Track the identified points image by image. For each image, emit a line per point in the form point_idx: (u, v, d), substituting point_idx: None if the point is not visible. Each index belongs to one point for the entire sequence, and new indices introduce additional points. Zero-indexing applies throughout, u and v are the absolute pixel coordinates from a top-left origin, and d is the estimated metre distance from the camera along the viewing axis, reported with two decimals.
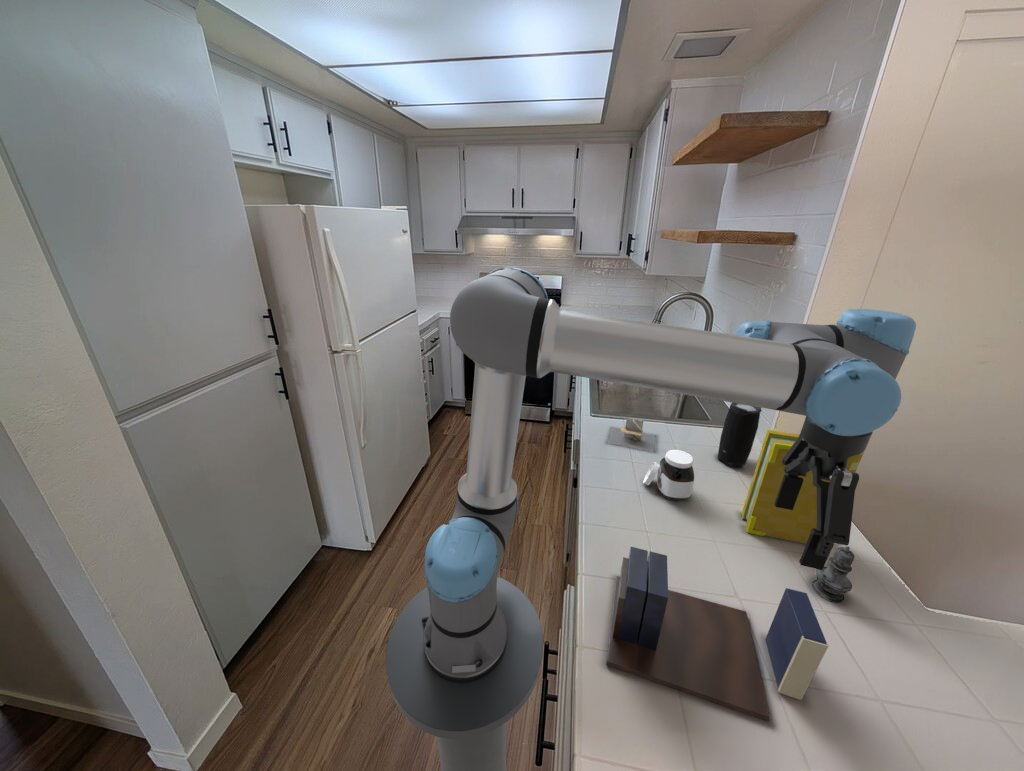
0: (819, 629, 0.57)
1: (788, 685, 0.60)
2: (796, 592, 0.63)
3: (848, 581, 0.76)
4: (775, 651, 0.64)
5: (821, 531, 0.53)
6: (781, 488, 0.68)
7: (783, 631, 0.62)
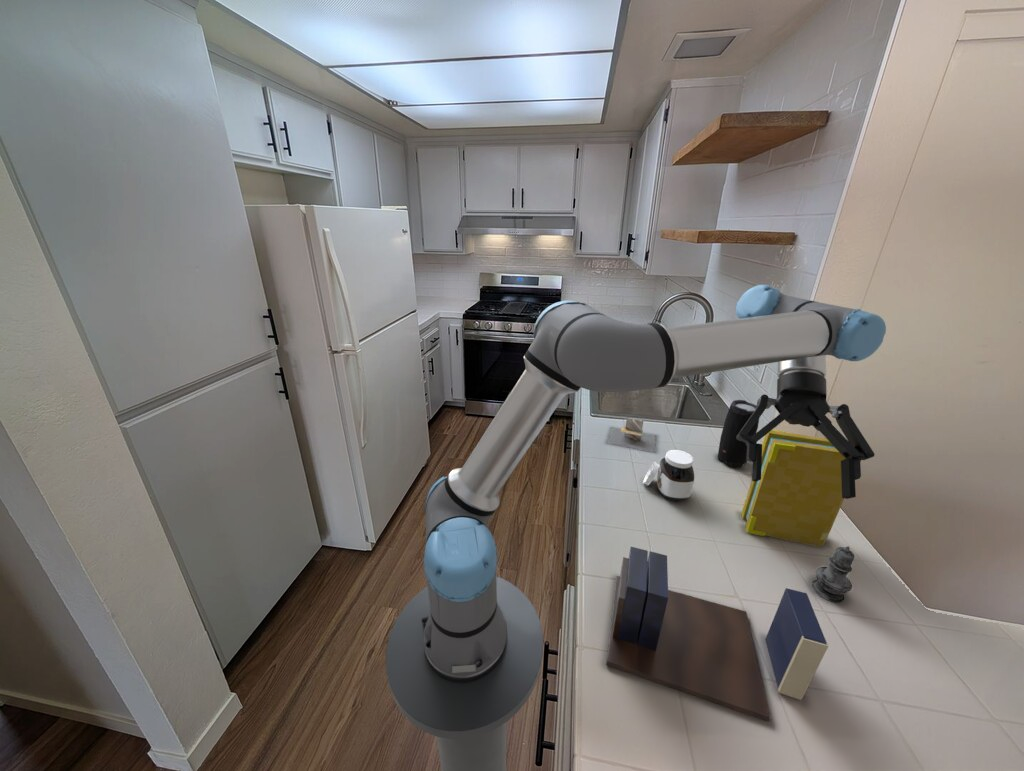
0: (819, 629, 0.57)
1: (788, 685, 0.60)
2: (796, 592, 0.63)
3: (848, 581, 0.76)
4: (775, 651, 0.64)
5: (860, 454, 0.65)
6: (760, 457, 0.69)
7: (783, 631, 0.62)
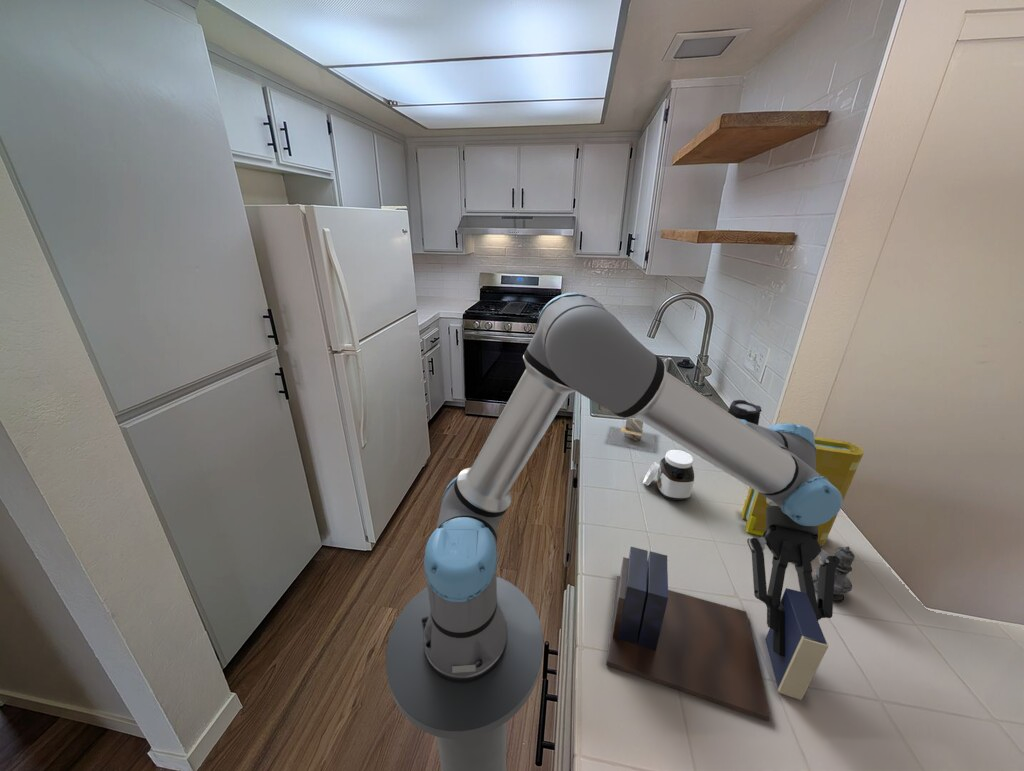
0: (819, 629, 0.57)
1: (788, 685, 0.60)
2: (796, 592, 0.63)
3: (848, 581, 0.76)
4: None
5: (818, 615, 0.62)
6: (783, 628, 0.62)
7: None
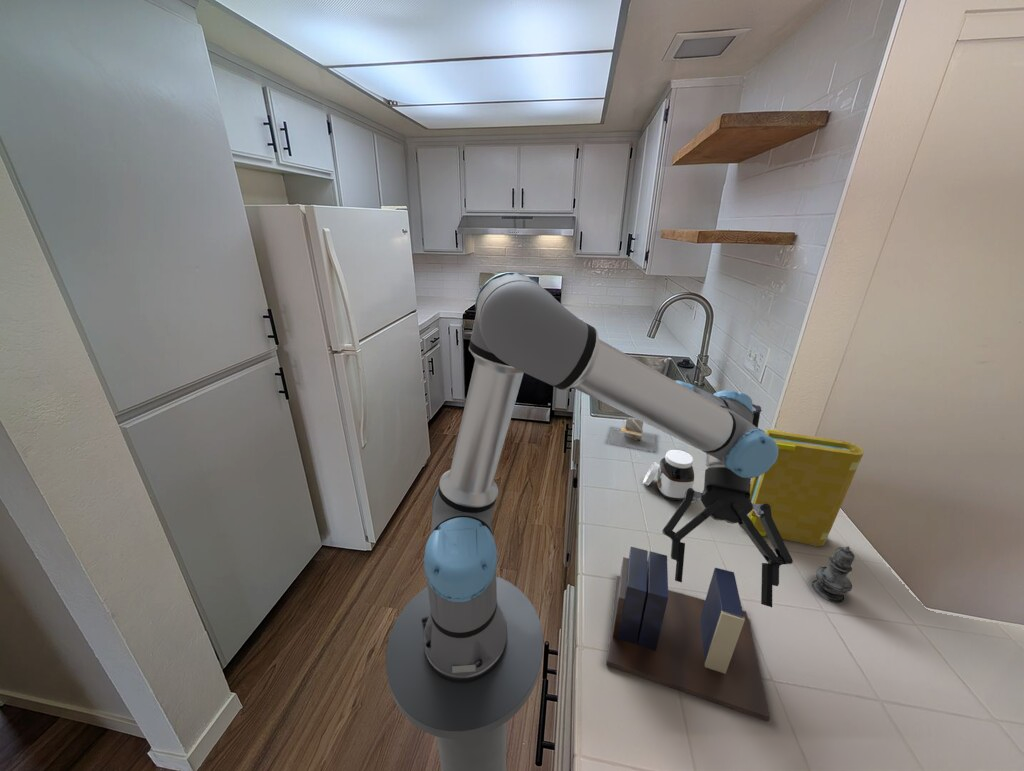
0: (739, 604, 0.60)
1: (712, 659, 0.62)
2: (724, 571, 0.65)
3: (848, 581, 0.76)
4: (705, 629, 0.67)
5: (779, 559, 0.64)
6: (682, 558, 0.68)
7: (711, 608, 0.65)
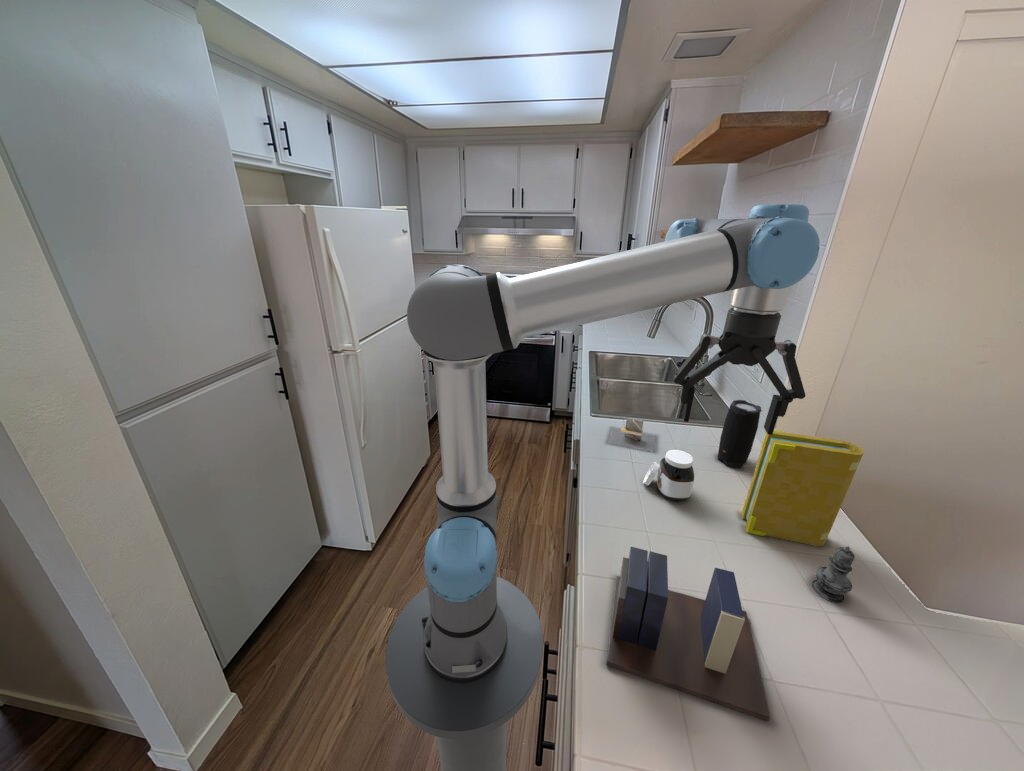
0: (739, 604, 0.60)
1: (712, 659, 0.62)
2: (724, 571, 0.65)
3: (848, 581, 0.76)
4: (705, 629, 0.67)
5: (791, 396, 0.64)
6: (691, 402, 0.70)
7: (711, 608, 0.65)
